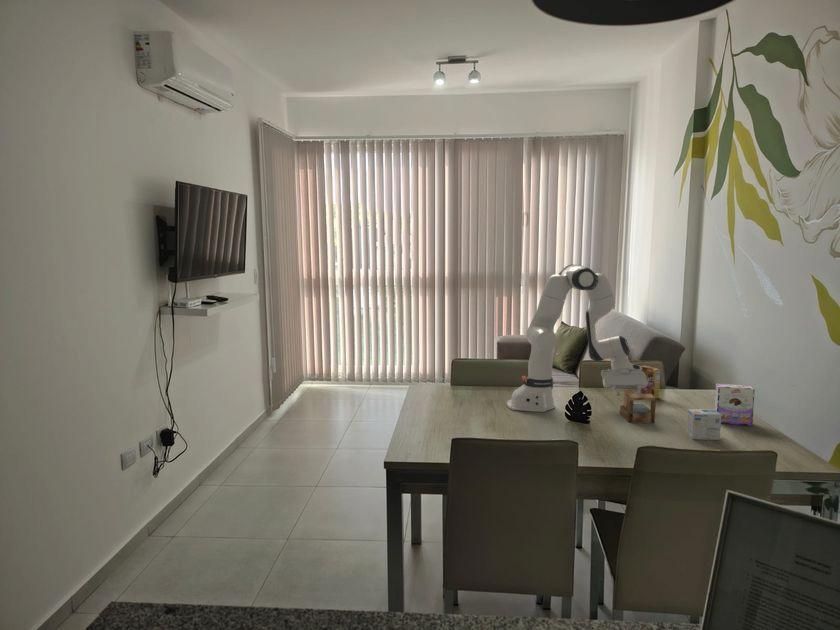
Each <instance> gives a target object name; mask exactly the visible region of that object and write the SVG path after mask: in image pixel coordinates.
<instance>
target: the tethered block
mask: <svg viewBox="0 0 840 630" xmlns="http://www.w3.org/2000/svg"><path fill="white" fill-rule="evenodd" d="M625 394H635V392H634V391H632V390H624V394H623V395H624V397H623V405H624V406H625V407H626V408H627V409H628V403H629V399H628V398H627V397H626V396H625ZM634 401H635V400H633V413H647V412H648V408H649V407H647V406H646V405H644V403H634Z"/></svg>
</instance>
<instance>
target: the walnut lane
mask: <svg viewBox="0 0 840 630" xmlns="http://www.w3.org/2000/svg"><path fill="white" fill-rule="evenodd" d="M625 396H626V397H627V398H628V399H629V403H628V409H627V408H626V407H625V406H624V404H622V405H619V406H620V407H619V414H620V415H621V416H622V417H623V418H624V419H625V420H626V421H627V422H628V423H630V424H631V423H637V424H639V423H645V424H646V423H647V424H648V423H653V424H654V423H655V421H656V403H657V399H656V397H654V396H653V395H652V394H636V393H634V394H625ZM633 400H634V401H650V408H649V407H647V408H648V412H647V413H633V404H634V403H633Z"/></svg>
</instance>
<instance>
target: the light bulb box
mask: <svg viewBox="0 0 840 630" xmlns="http://www.w3.org/2000/svg"><path fill="white" fill-rule="evenodd" d="M686 423H687V424H686V435H687V436H688V437H689V438H690V439H692V440H704V441H705V440H707V441H708V440H710V441H720V440H721V427H722V426H721V425H722V423H721V414H720V413H719V412H717V411H716V410H715V408H714V409H712V408H711V409H710V408H709V409H708V408H707V409H705V408H704V409H700V408H699V409H698V408H694V409H692V408H688V409H687V419H686Z"/></svg>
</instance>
